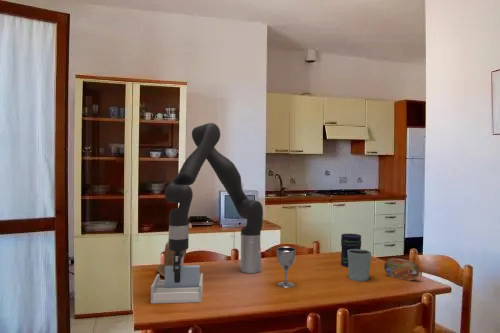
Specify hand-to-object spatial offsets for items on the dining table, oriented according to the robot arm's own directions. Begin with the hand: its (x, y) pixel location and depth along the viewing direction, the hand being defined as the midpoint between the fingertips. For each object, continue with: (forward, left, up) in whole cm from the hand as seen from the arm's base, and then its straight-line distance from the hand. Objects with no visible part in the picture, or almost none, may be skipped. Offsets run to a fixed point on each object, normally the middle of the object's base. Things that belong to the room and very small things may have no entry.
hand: (178, 279), depth 150 cm
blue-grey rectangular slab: (-1, 0, -5) cm, 5 cm away
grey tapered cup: (-77, -17, -6) cm, 80 cm away
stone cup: (+6, -28, -6) cm, 29 cm away
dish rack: (0, 0, -6) cm, 6 cm away
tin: (-96, -16, -6) cm, 98 cm away
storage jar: (-81, -39, -6) cm, 91 cm away
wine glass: (-43, -10, -6) cm, 45 cm away
